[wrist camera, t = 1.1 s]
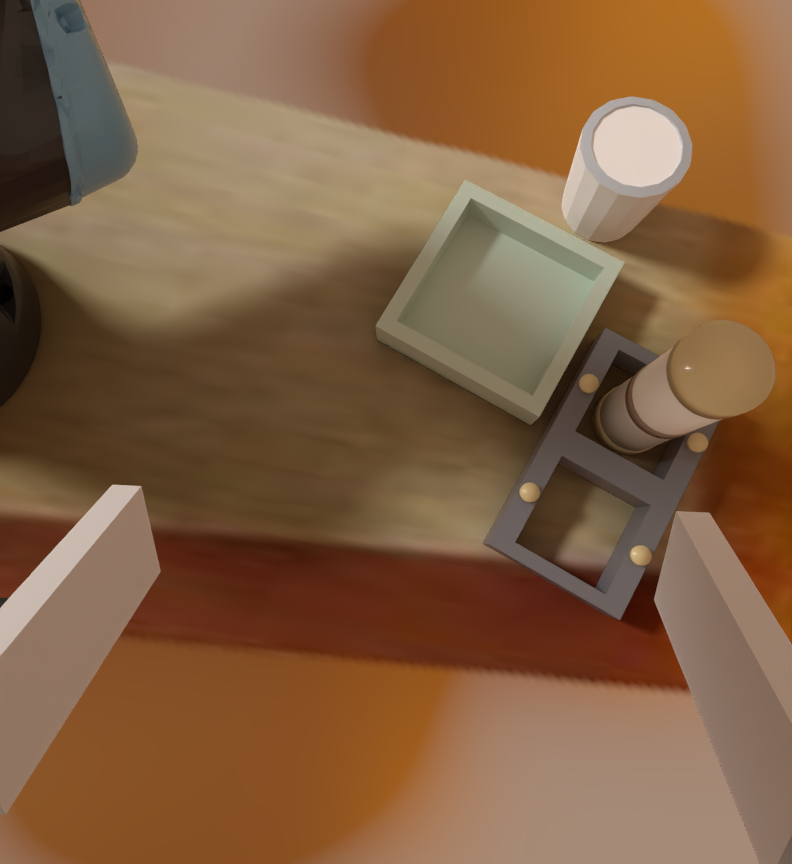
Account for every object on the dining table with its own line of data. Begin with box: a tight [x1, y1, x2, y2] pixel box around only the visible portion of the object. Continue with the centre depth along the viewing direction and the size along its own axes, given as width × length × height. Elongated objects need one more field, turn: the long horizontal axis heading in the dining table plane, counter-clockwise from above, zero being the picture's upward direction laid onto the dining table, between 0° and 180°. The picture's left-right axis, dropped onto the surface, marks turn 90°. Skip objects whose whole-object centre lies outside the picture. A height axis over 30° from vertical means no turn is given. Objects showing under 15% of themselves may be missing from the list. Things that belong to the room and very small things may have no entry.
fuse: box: [593, 320, 776, 455], centre depth 36 cm, size 5×5×13 cm
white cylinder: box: [562, 97, 692, 243], centre depth 41 cm, size 7×7×7 cm
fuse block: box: [483, 328, 720, 620], centre depth 40 cm, size 9×16×3 cm, turn 150°
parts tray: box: [375, 180, 625, 425], centre depth 42 cm, size 12×12×3 cm
